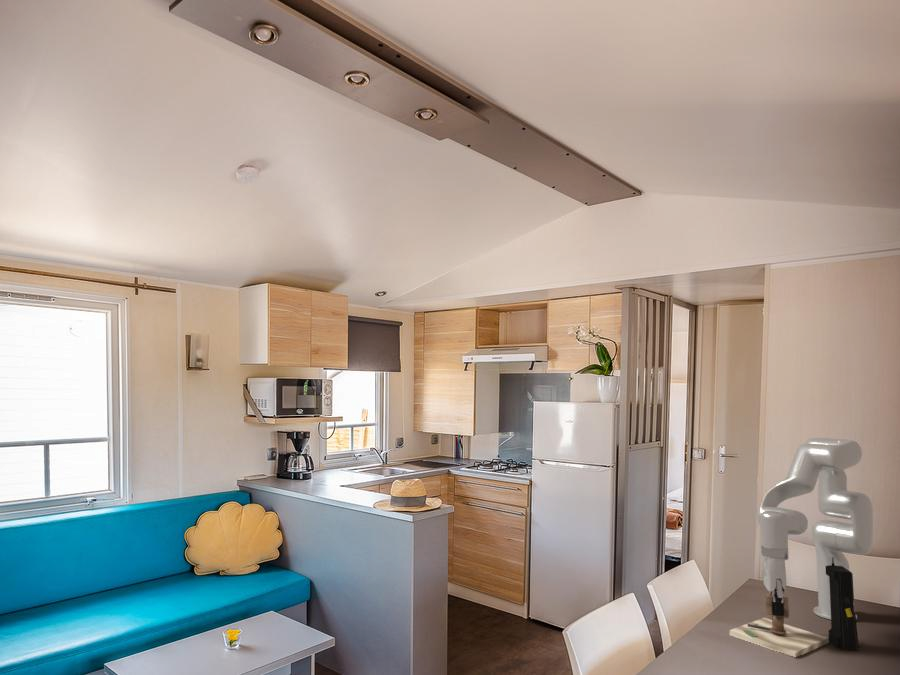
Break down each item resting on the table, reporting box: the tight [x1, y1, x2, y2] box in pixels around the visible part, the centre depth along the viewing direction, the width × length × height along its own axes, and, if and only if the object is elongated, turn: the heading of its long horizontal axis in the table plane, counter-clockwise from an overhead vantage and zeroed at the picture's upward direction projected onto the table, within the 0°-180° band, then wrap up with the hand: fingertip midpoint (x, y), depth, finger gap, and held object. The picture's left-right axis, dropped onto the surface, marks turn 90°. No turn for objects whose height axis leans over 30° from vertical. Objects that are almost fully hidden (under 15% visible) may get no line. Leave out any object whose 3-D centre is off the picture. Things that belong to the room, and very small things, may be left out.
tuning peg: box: [747, 594, 790, 635], centre depth 192 cm, size 12×4×11 cm, turn 59°
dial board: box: [729, 617, 830, 658], centre depth 190 cm, size 20×20×2 cm
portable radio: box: [826, 559, 860, 652], centre depth 185 cm, size 8×6×25 cm
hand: (776, 613), depth 190 cm, fingers closed on tuning peg, 2 cm apart
